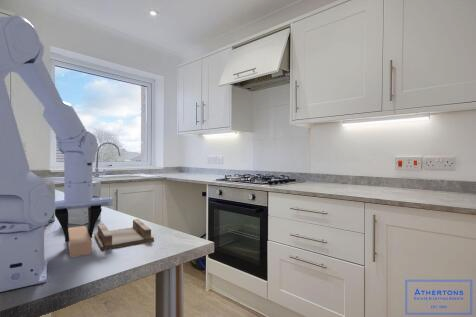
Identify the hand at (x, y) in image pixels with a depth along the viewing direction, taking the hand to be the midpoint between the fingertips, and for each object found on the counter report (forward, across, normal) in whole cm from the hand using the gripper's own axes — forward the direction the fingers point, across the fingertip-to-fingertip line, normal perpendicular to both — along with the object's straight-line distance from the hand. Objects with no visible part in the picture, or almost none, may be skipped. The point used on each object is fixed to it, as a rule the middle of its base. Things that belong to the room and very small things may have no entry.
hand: (78, 238), depth 63 cm
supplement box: (+2, -3, -24) cm, 24 cm away
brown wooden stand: (+2, -10, 0) cm, 10 cm away
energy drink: (+2, +7, -30) cm, 31 cm away
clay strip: (+2, 0, 0) cm, 2 cm away
